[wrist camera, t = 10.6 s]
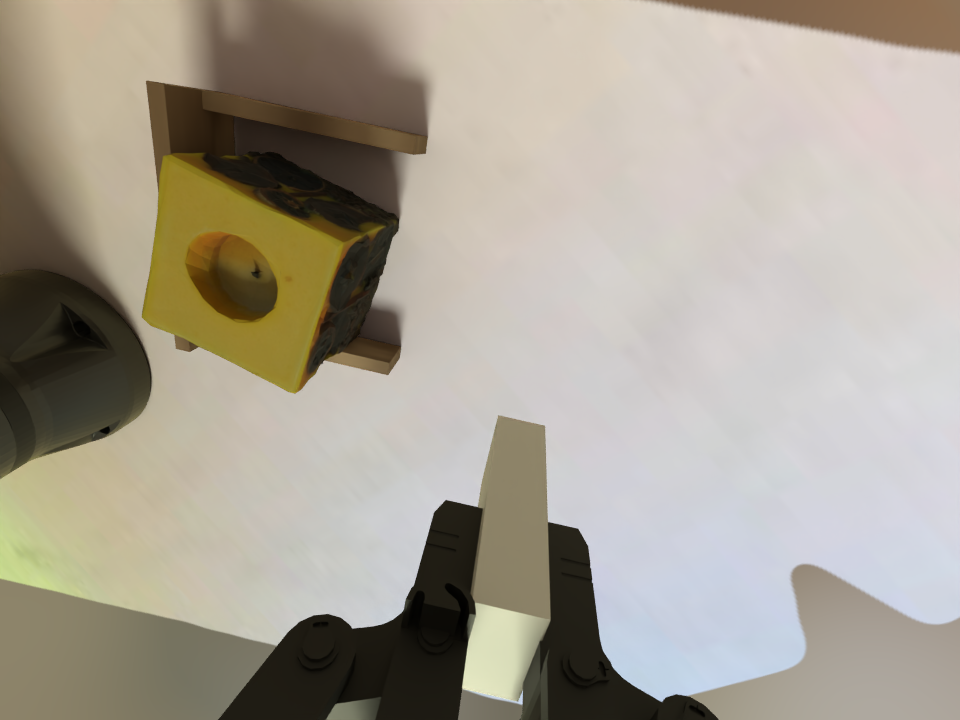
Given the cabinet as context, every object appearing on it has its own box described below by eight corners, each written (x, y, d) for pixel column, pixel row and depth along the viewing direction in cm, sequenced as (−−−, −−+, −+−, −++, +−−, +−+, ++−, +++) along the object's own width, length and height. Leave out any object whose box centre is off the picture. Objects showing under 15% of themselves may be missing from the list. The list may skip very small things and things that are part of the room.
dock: (229, 318, 37) (176, 348, 32) (217, 91, 30) (145, 80, 25) (399, 357, 37) (374, 395, 31) (427, 136, 30) (401, 135, 24)
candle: (359, 337, 36) (299, 401, 27) (239, 279, 36) (136, 325, 27) (406, 216, 32) (352, 245, 23) (269, 147, 31) (158, 149, 22)
